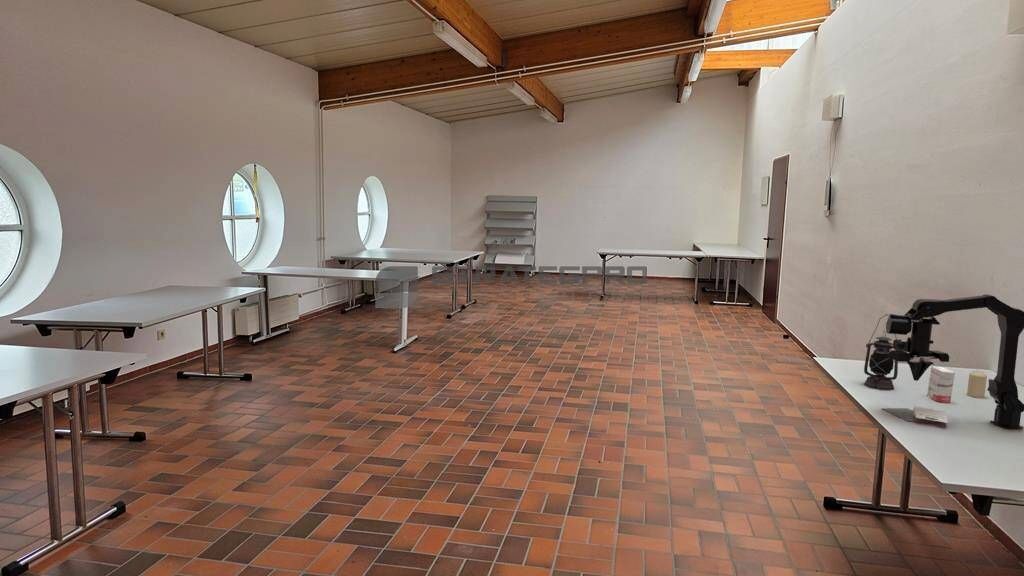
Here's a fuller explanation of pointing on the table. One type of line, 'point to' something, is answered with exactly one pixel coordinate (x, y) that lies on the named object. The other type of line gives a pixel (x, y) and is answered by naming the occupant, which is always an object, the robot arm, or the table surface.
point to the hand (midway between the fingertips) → (915, 380)
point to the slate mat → (905, 414)
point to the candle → (977, 384)
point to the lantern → (880, 364)
